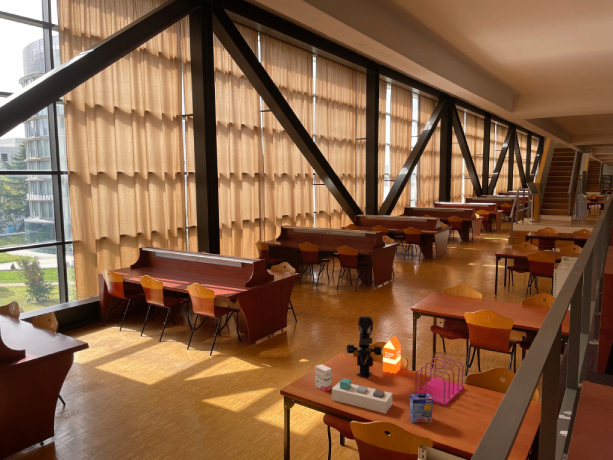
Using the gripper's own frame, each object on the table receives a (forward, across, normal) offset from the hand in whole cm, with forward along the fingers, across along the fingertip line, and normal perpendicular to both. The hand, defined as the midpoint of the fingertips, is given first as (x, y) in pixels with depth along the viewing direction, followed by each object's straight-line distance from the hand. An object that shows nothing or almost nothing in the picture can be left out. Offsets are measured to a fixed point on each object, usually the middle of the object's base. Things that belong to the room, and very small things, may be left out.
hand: (363, 365), depth 257 cm
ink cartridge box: (+29, +29, -9) cm, 42 cm away
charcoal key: (+19, +9, -5) cm, 22 cm away
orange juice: (-9, +15, +28) cm, 34 cm away
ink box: (+11, -21, +8) cm, 25 cm away
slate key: (+17, 0, -3) cm, 18 cm away
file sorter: (+8, +40, +12) cm, 43 cm away
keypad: (+20, 0, 0) cm, 20 cm away
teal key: (+14, -8, -2) cm, 16 cm away
